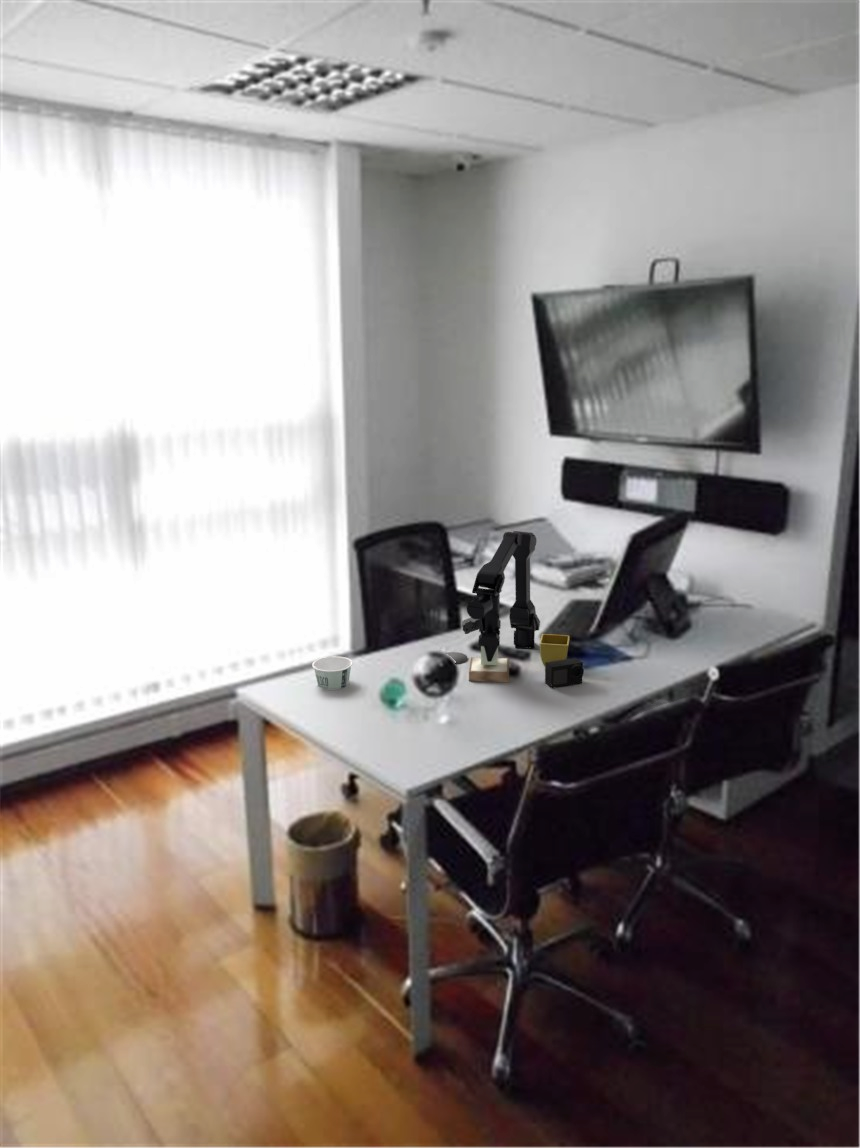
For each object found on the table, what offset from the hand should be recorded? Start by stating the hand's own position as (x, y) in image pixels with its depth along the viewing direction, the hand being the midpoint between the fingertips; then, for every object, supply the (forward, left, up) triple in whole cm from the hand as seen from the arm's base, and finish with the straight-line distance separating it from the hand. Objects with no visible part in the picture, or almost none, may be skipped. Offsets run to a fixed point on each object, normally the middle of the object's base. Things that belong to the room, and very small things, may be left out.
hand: (489, 658), depth 269 cm
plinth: (0, 0, -5) cm, 5 cm away
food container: (+47, +11, -6) cm, 48 cm away
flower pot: (-20, -8, -5) cm, 22 cm away
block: (0, 0, -1) cm, 1 cm away
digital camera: (-22, +7, -6) cm, 24 cm away
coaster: (+12, -12, -5) cm, 18 cm away
